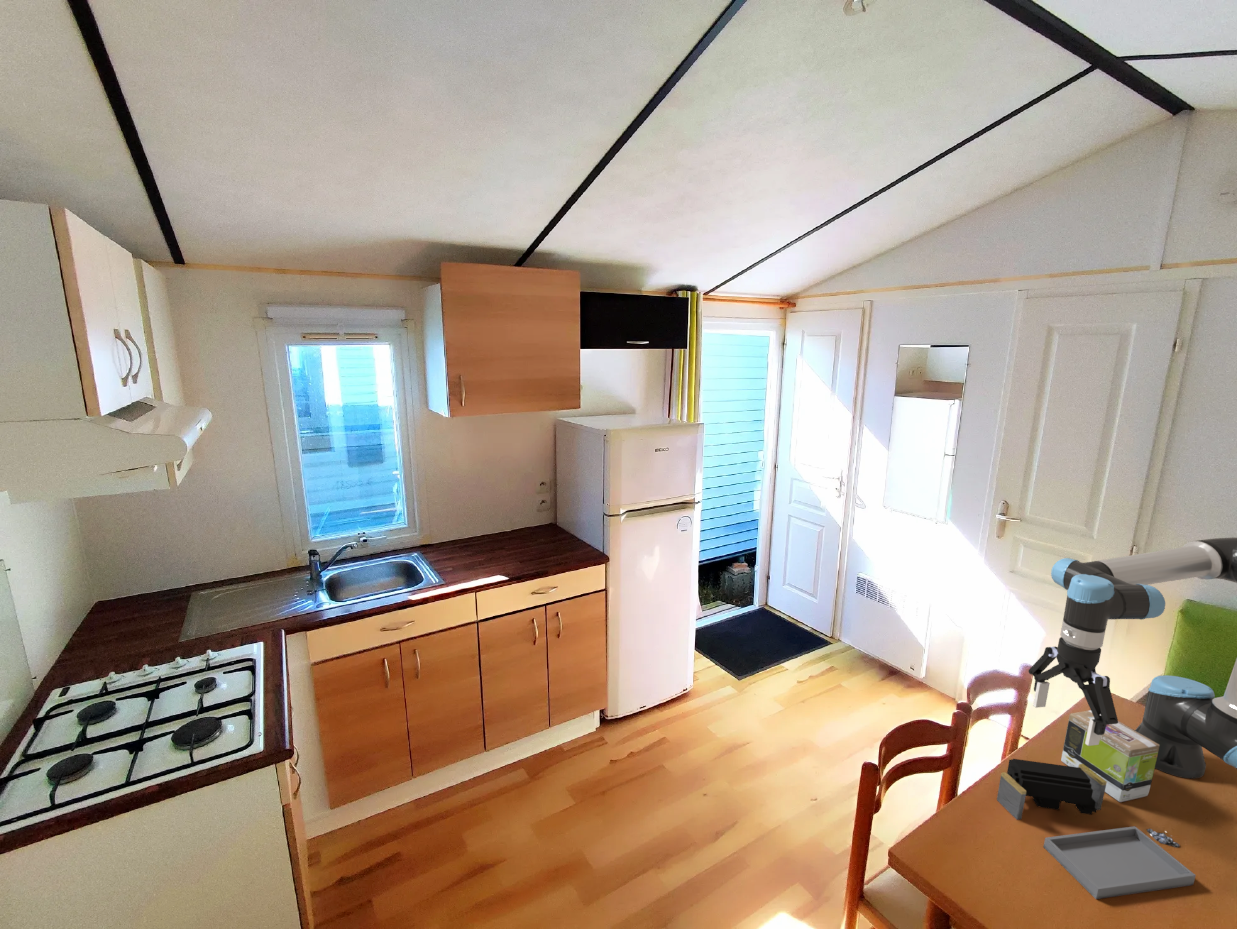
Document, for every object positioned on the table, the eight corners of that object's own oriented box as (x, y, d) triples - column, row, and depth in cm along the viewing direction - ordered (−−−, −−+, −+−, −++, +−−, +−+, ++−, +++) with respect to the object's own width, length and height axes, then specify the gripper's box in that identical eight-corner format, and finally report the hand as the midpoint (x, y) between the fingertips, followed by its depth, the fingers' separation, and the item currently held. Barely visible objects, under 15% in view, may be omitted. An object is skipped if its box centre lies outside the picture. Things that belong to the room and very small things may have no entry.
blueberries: (1141, 822, 133) (1142, 815, 133) (1189, 841, 127) (1190, 834, 127) (1138, 839, 129) (1139, 832, 128) (1188, 860, 123) (1189, 852, 123)
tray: (1132, 835, 129) (1135, 826, 128) (1193, 885, 117) (1195, 875, 116) (1043, 846, 125) (1045, 837, 125) (1095, 899, 114) (1098, 889, 113)
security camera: (1101, 823, 132) (1109, 786, 130) (1013, 809, 135) (1020, 774, 133) (1083, 800, 139) (1091, 765, 136) (1000, 788, 142) (1006, 753, 140)
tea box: (1149, 796, 140) (1162, 744, 137) (1119, 803, 138) (1131, 751, 135) (1087, 754, 154) (1097, 707, 151) (1058, 760, 152) (1068, 712, 149)
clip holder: (1077, 790, 142) (1083, 763, 140) (1100, 809, 136) (1106, 781, 134) (996, 799, 138) (1001, 772, 137) (1016, 819, 133) (1021, 791, 131)
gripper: (1020, 617, 139) (1007, 693, 144) (1121, 674, 115) (1102, 763, 120) (1046, 615, 141) (1032, 691, 145) (1152, 671, 116) (1132, 760, 121)
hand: (1064, 724), depth 132 cm, fingers open, 13 cm apart
